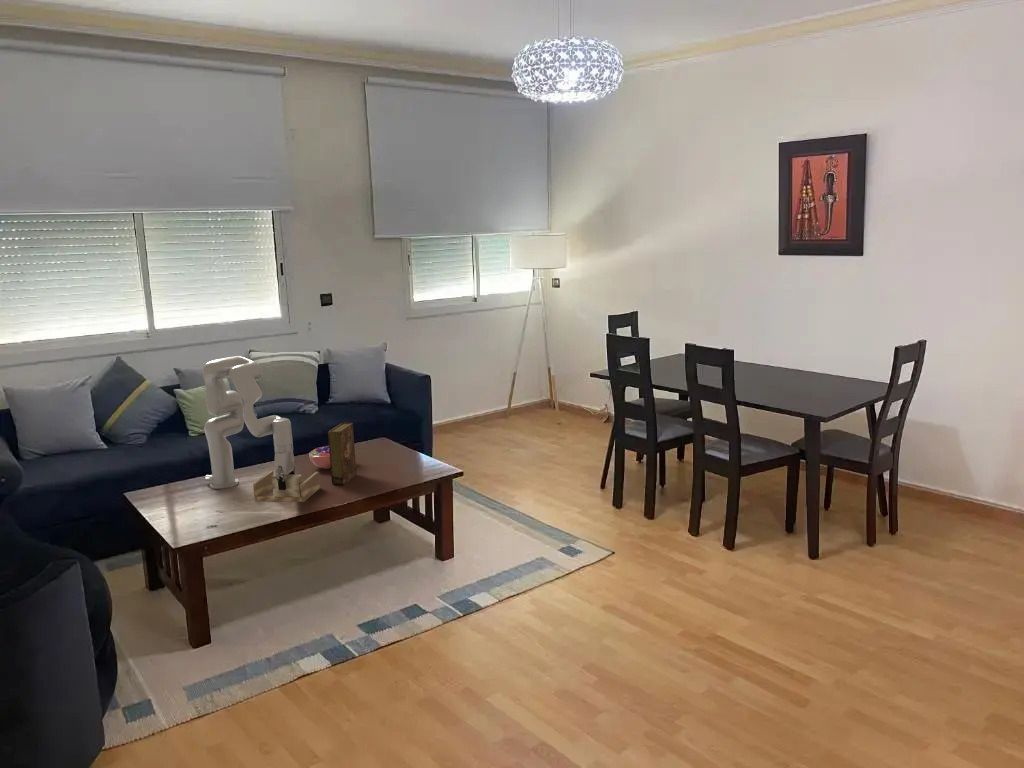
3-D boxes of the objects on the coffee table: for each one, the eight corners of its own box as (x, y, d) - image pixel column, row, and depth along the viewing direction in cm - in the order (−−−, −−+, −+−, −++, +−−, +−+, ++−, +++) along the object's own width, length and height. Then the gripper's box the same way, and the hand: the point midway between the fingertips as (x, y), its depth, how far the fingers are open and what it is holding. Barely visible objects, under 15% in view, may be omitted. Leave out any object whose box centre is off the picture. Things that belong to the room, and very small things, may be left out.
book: (346, 473, 364) (342, 422, 359) (357, 474, 363) (353, 422, 358) (332, 485, 348) (327, 432, 343) (343, 485, 347) (339, 432, 342)
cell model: (303, 468, 375) (301, 445, 372) (339, 458, 388) (338, 437, 385) (320, 475, 362) (318, 452, 360) (357, 465, 375) (355, 443, 373)
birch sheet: (273, 500, 331) (271, 476, 329) (276, 498, 334) (274, 474, 332) (300, 501, 329) (298, 476, 327) (303, 498, 332) (301, 474, 330)
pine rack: (254, 501, 331) (252, 483, 329) (272, 487, 347) (270, 470, 346) (304, 502, 328) (302, 484, 326) (319, 488, 344) (318, 471, 342)
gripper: (284, 441, 336) (287, 479, 339) (266, 453, 319) (270, 492, 323) (300, 441, 335) (303, 479, 338) (283, 453, 318) (287, 493, 321)
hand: (287, 485), depth 330 cm, fingers open, 9 cm apart
